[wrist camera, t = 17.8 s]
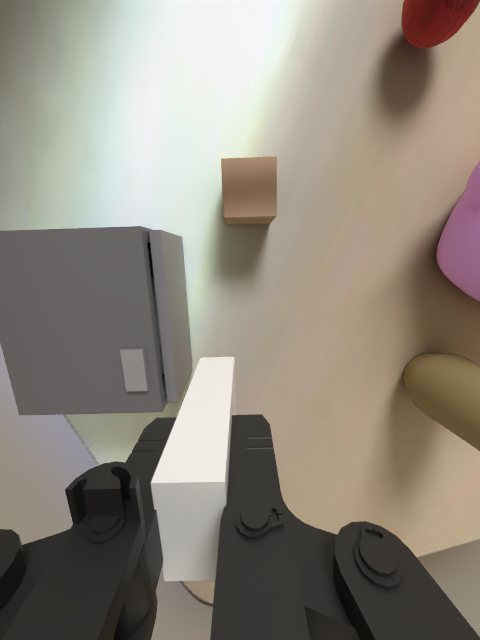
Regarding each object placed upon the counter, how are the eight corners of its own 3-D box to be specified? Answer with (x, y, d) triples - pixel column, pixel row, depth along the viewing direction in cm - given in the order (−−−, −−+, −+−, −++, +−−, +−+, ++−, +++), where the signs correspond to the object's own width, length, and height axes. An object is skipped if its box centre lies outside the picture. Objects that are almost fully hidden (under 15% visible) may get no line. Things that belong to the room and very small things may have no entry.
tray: (64, 241, 31) (1, 235, 23) (181, 237, 30) (160, 229, 22) (88, 371, 35) (41, 405, 27) (192, 368, 34) (177, 402, 26)
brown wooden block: (225, 178, 29) (221, 158, 23) (269, 176, 29) (276, 156, 23) (227, 225, 30) (223, 217, 25) (270, 223, 30) (276, 215, 25)
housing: (56, 239, 31) (-34, 231, 21) (172, 235, 31) (138, 225, 21) (81, 372, 35) (16, 419, 25) (184, 369, 35) (161, 415, 25)
